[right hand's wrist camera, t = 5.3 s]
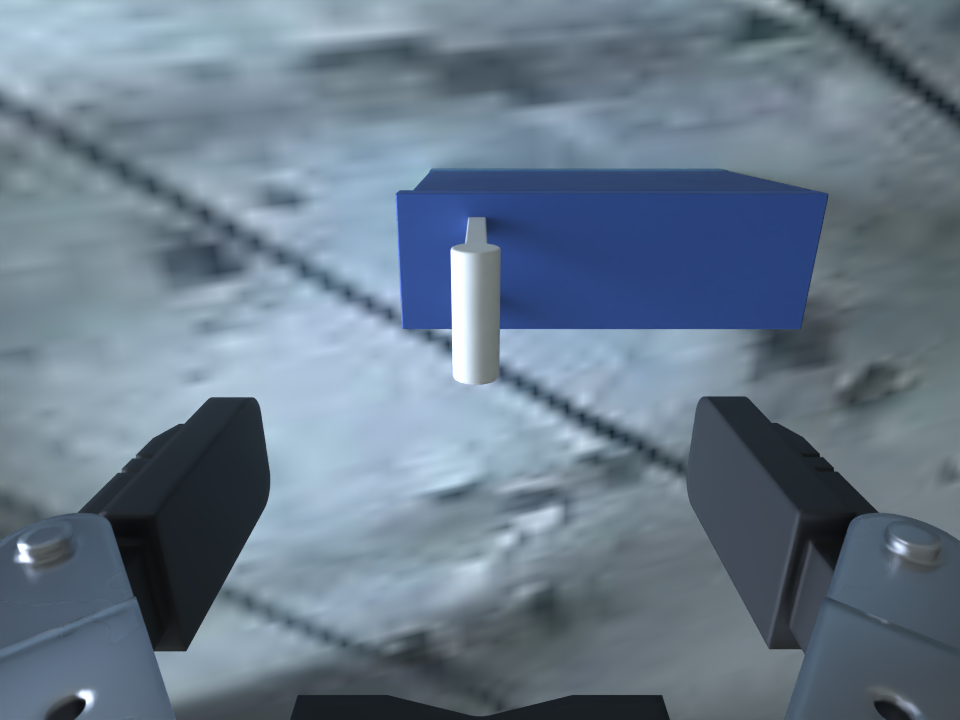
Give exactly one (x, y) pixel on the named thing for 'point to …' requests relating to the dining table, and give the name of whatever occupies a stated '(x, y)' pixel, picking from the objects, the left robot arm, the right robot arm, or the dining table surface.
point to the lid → (601, 262)
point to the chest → (596, 180)
